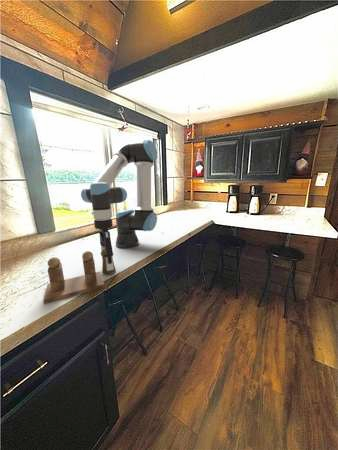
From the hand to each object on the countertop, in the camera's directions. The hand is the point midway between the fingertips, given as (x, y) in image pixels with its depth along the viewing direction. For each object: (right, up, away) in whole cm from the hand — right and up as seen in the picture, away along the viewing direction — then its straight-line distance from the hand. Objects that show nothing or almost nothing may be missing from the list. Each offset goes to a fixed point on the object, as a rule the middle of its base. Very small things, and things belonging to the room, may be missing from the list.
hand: (107, 264), depth 84 cm
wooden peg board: (-9, -7, -11) cm, 16 cm away
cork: (0, -4, +1) cm, 4 cm away
